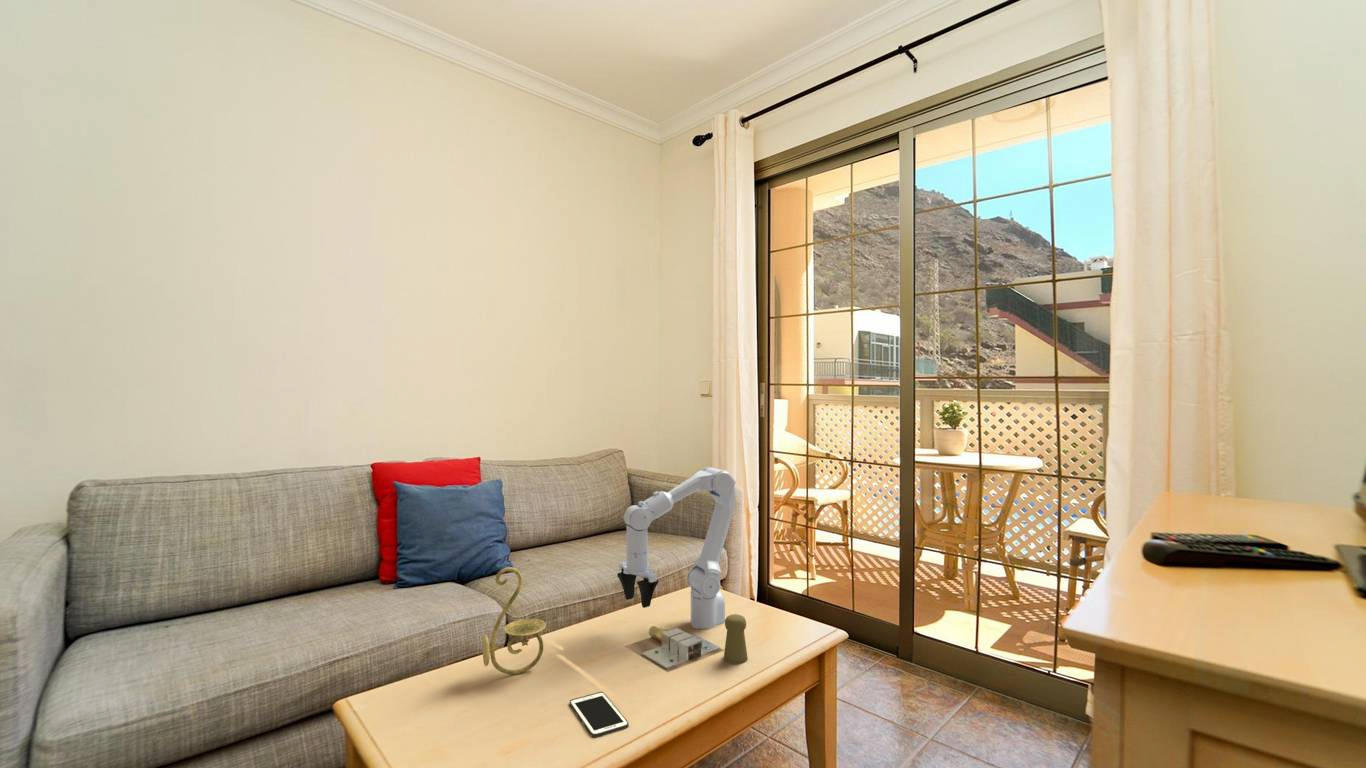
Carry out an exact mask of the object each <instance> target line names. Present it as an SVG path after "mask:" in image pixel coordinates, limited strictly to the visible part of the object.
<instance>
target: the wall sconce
mask: <svg viewBox="0 0 1366 768" xmlns="http://www.w3.org/2000/svg"><path fill="white" fill-rule="evenodd" d="M506 572H512V573H514V574H515V575H516V577H517V578H518V583H517V587H516V589H515V591H514V593H513V594H512V595H511V597H510V598H509V600H508V601H507V603H506V605H505V606H504V607H503V609H502V610H501V612H500V614H499V616H498V618H497V620H496V623H495V625H494V628H493V630H492V633H491V637H490V642H489V637H488V635H487V634H486V633H485V634H483V635H482V644H481V646H482V648H481V649H482V658H483V665H484V667H487V666H488V665H489V663H490V660H491V664H492V666H493V668H495V669H496V670H497V671H498V672H500V673H503V674H505V675H513V676H514V675H519V674H521V673H525V672H527V671H529V670H530V669H533V667H535V666H536V665H537V664H538V662H539V661H540V660H541V658H542V655H543V652H544V641H543V638H542V635H541V634H540V633H541V632H542V631H543V630H545V628H546V625H547V623H546V622H545V621H544V620H542V619H538V618H522V619H518V620H514V621H511V622H509V623H507V624H506V625H505V626H504V629H503V631H504V633H505V634H507V635H510V636H511V637H510V638H509V639H508V642H507V644H506V645H507V646H506V647H507V651H508V653H510V654H511V655H517V654H518V655H519V654H520V653H521V652H522V651H523V649H521V648H518V649H513V647H512V644H513V642H514V641H515V640H516V639H518V638H521V637H522V638H523V640H520V641H519V642H520V643H521V647H524V646H529V645H528V643H529V642H530V639H527V637H529V636H532V635H533V636H535V637H536V639H537V641H538V653H537V655H536V658H534V659H533V661H532V662H530V663H529V664H527V665H526V666H524V667H521V668H518V669H507V668H504V667H502V666H501V665H500V664H499V663H498V661H497V659H496V654H495V652H496V651H498V645H497V644H496V638H497V633H498V630H499V628H500V625H501V623H502V620H503V618H504V617H505V615H506V614H507V612H508V610H509V609H510V607H511V606H512V605H513V603H514V602H515V600H516V598H517V597H518V595H519V594H520V592H521V589H522V586H523V575H522V573H521V572H520V571H519V570H518V569H517V568H515V567H512V566H508V567H504V568H501V569H500V570H499V571H498V572H497V573H496V575H495V583H496V584H497V585H499V586H504V585H506V584H507V582H508V579H507V578H505V579H504V580H503V581H501V580H500V577H501V576H502V574H504V573H506Z"/></svg>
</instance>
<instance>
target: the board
mask: <svg viewBox="0 0 1366 768" xmlns="http://www.w3.org/2000/svg"><path fill="white" fill-rule="evenodd" d="M677 628H678V629H680V630H682V631H684V633H685V632H686V633H688V634H690V635H694V634H693V633H691V632H689V631H687V630H685V629H682V628H680V627H677ZM660 646H662V642H660V641H658V640H656V639H654V638H653V637H651V636H649V637H647V638H645V639H642V640H638V641H636V642H633V643H630V644H629V643H628V644H627V645H624V647H625V648H626V649H628V650H630V651H632V652H634V653H635V654H637V655H639V656H640V657H642V658H643V659H645V660H647V661H648V662H651V664H654V665H655V666H657V667H659V668H660V669H662V670H663V671H665V672H667V673H669V672H671V671H674V670H677V669H680V668H682V667H685V666H687V665H690V664H693V663H695V662H698V661H700V660H703V659H705V658H708V657H711V656H714V655H716V654H719V653H721V652H724V651H725V649H723V648H721V647H720V650H717V651H715V652H712V653H709V654H707V655H704V656H702V657H700V656H699V655H697V654H695V653H693V652H691V651H689V650H688V662H686V663H683V664H680V665H678V666H675V667H673V668H670V669H665V668H663V667H662V666H660V665H658V664H657V663H655V662H653V661H652V660H650V659H648V658H647V657H645V656H643V655H642V653H643V652H646V651H649V650H652V649H655V648H658V647H660Z"/></svg>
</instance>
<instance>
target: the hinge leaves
mask: <svg viewBox="0 0 1366 768" xmlns="http://www.w3.org/2000/svg"><path fill="white" fill-rule="evenodd" d="M678 628H679V627H675V628H673V629H669V630H665V631H666V632H663V633H662V646H660V647H658V648H655V649H652V650H649V651H646V652H643V653H642V655H643V656H645V657H647V658H648V659H650V660H652V661H653V662H655V663H657V664H658V665H660V666H662V667H663V668H665V669H670V668H673V667H675V666H678V665H680V664H683V663H686V662H688V650H689V651H691V652H693V653H695V654H697V655H699V656H700V657H702V656H704V655H707V654H709V653H712V652H715V651H717V650H720V648H721V646H718V645H716V644H715V643H712V642H710V641H708V640H707V639H705V638H702V637H700V636H699V635H696V634H693V635H690V634H688V633H686V632H685V633H684V631H682V630H680V629H678Z"/></svg>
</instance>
